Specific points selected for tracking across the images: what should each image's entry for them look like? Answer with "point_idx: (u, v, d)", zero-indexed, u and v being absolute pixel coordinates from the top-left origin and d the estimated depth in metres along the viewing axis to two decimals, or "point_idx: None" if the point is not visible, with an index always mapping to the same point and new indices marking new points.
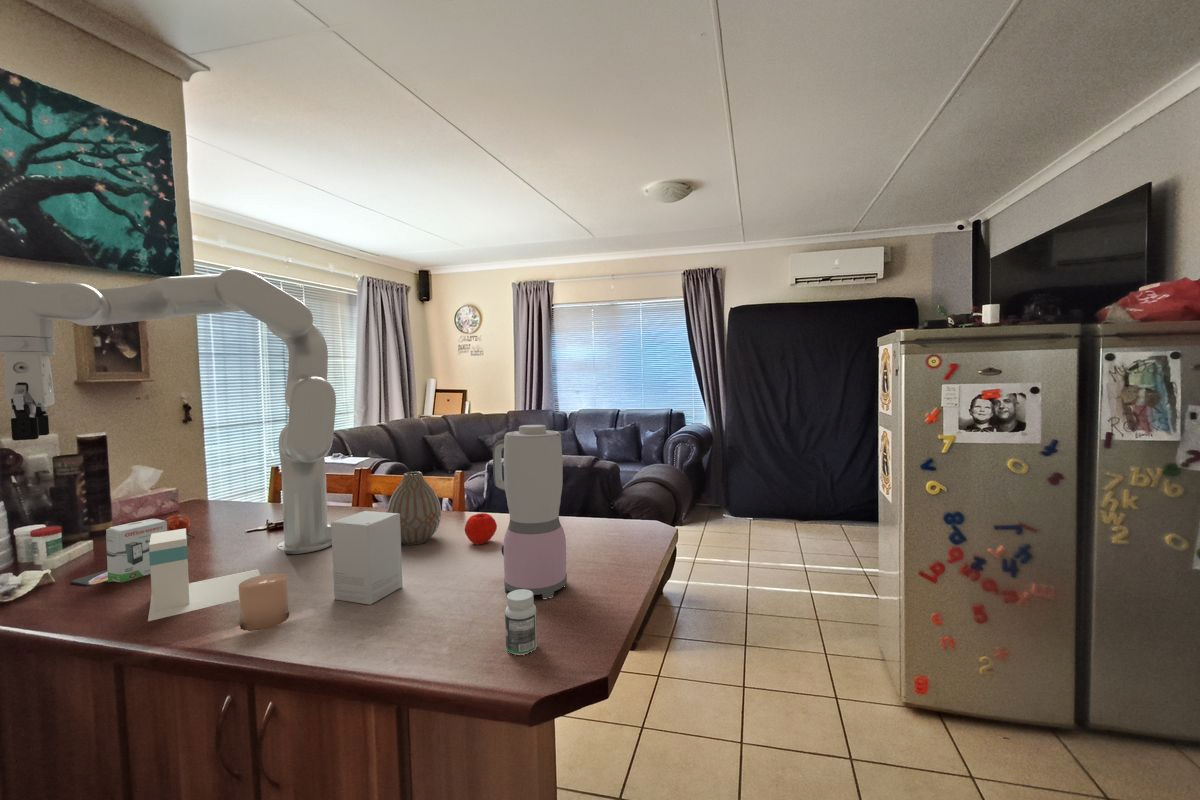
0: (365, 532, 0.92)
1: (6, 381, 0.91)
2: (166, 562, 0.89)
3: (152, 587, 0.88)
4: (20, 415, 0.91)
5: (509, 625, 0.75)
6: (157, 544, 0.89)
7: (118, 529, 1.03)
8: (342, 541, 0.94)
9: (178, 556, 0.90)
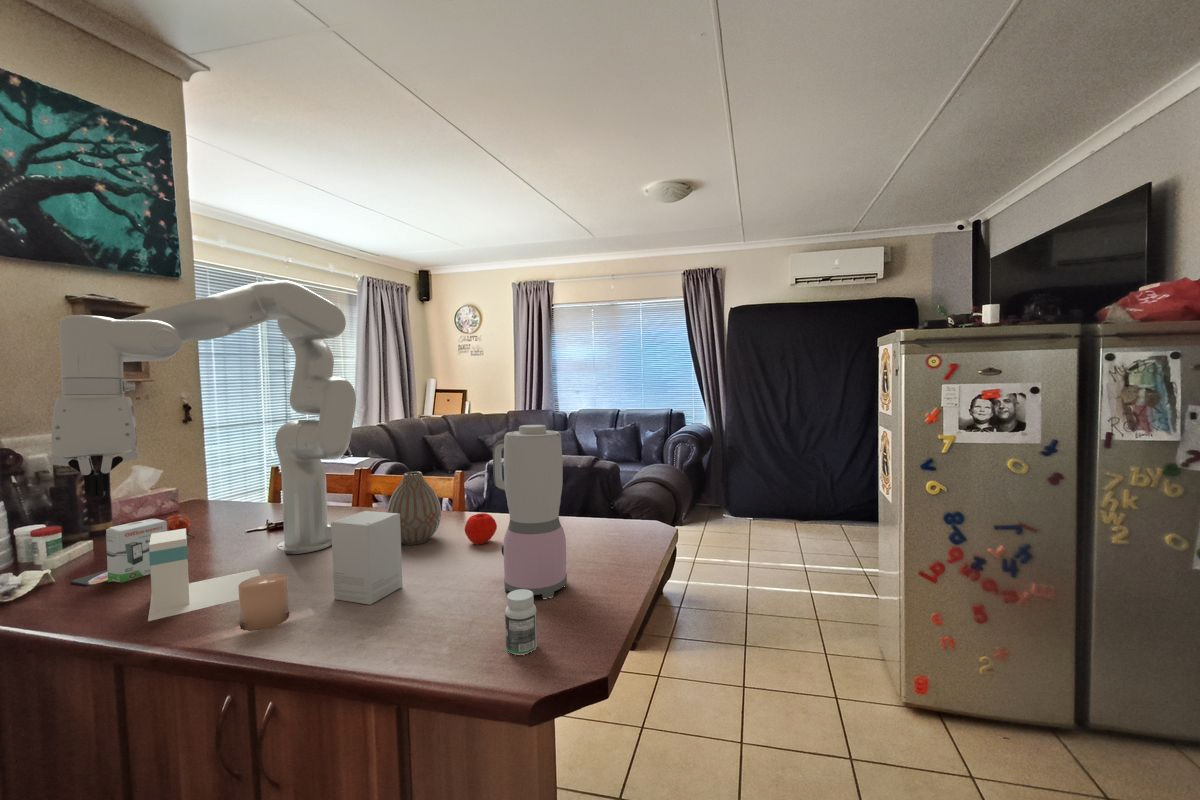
0: (365, 532, 0.92)
1: (131, 425, 0.88)
2: (166, 562, 0.89)
3: (152, 587, 0.88)
4: (113, 468, 0.88)
5: (509, 625, 0.75)
6: (157, 544, 0.89)
7: (118, 529, 1.03)
8: (343, 541, 0.94)
9: (178, 556, 0.90)
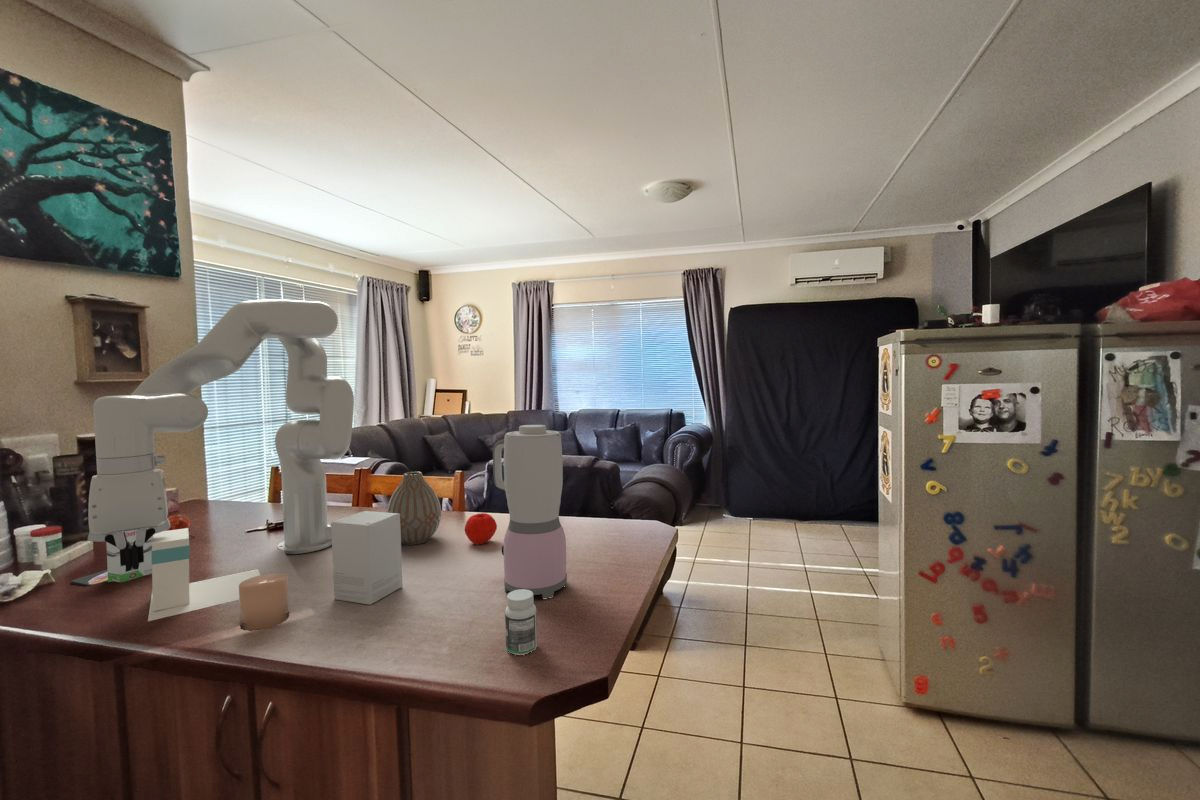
0: (365, 532, 0.92)
1: (163, 499, 0.91)
2: (168, 561, 0.90)
3: (153, 586, 0.88)
4: (146, 540, 0.91)
5: (509, 625, 0.75)
6: (160, 543, 0.89)
7: None
8: (342, 541, 0.94)
9: (180, 555, 0.91)
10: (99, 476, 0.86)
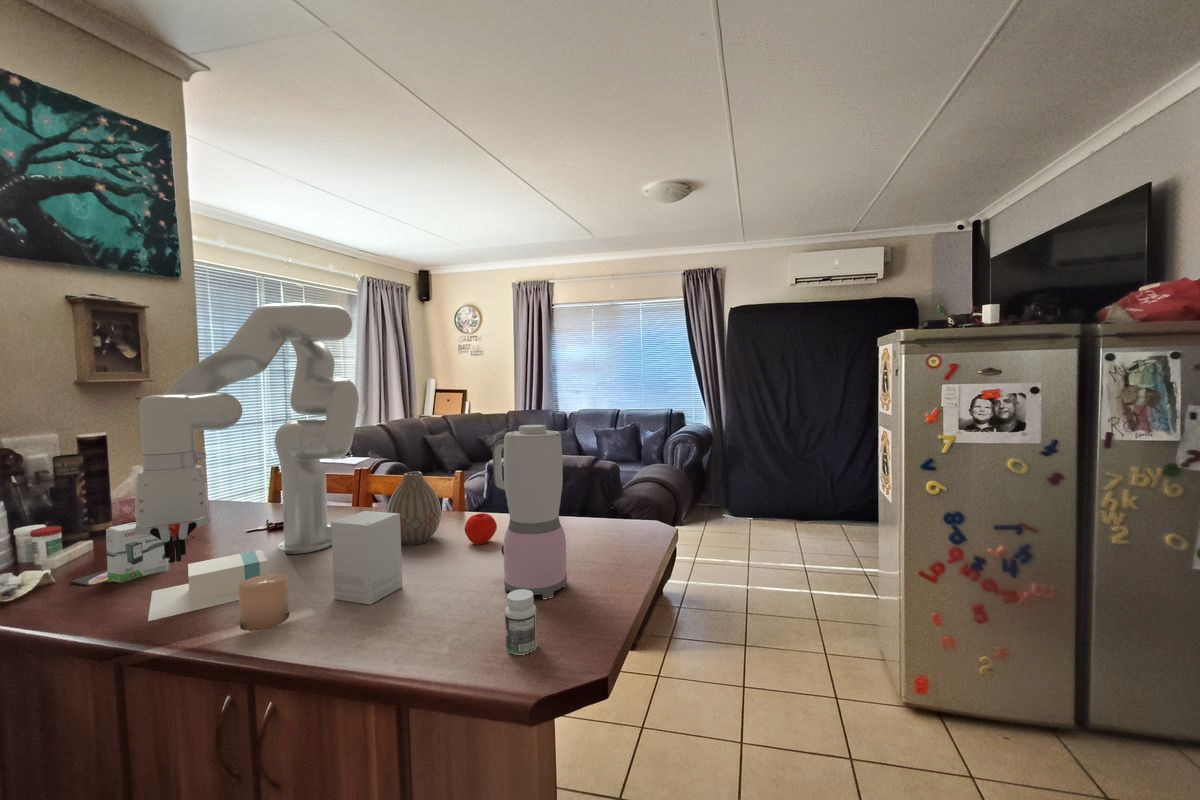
0: (365, 532, 0.92)
1: (204, 494, 0.94)
2: (245, 576, 0.97)
3: (219, 570, 0.94)
4: None
5: (509, 625, 0.75)
6: (266, 566, 0.99)
7: (118, 529, 1.03)
8: (342, 541, 0.94)
9: None
10: (145, 472, 0.89)
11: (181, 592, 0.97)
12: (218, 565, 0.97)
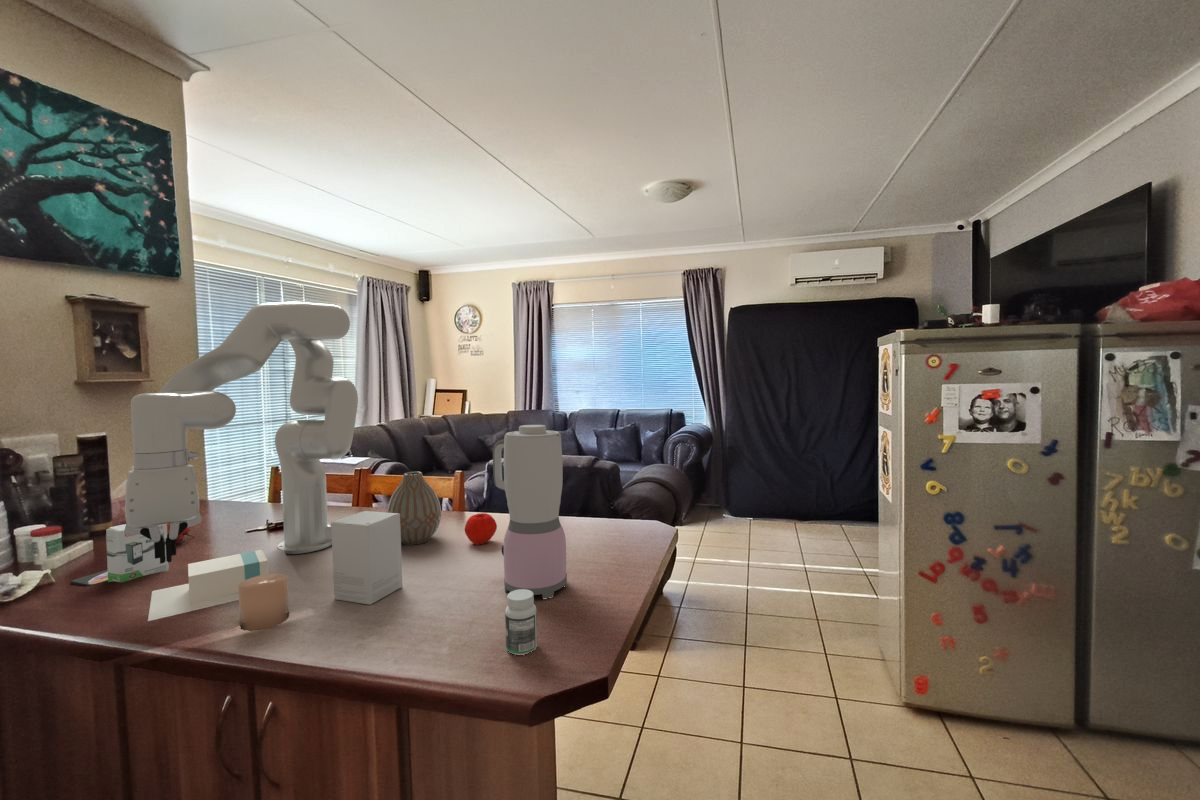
0: (365, 532, 0.92)
1: (196, 493, 0.94)
2: (245, 576, 0.97)
3: (219, 570, 0.94)
4: None
5: (509, 625, 0.75)
6: (266, 566, 0.99)
7: (118, 529, 1.03)
8: (342, 541, 0.94)
9: None
10: (136, 471, 0.88)
11: (181, 592, 0.97)
12: (218, 565, 0.97)
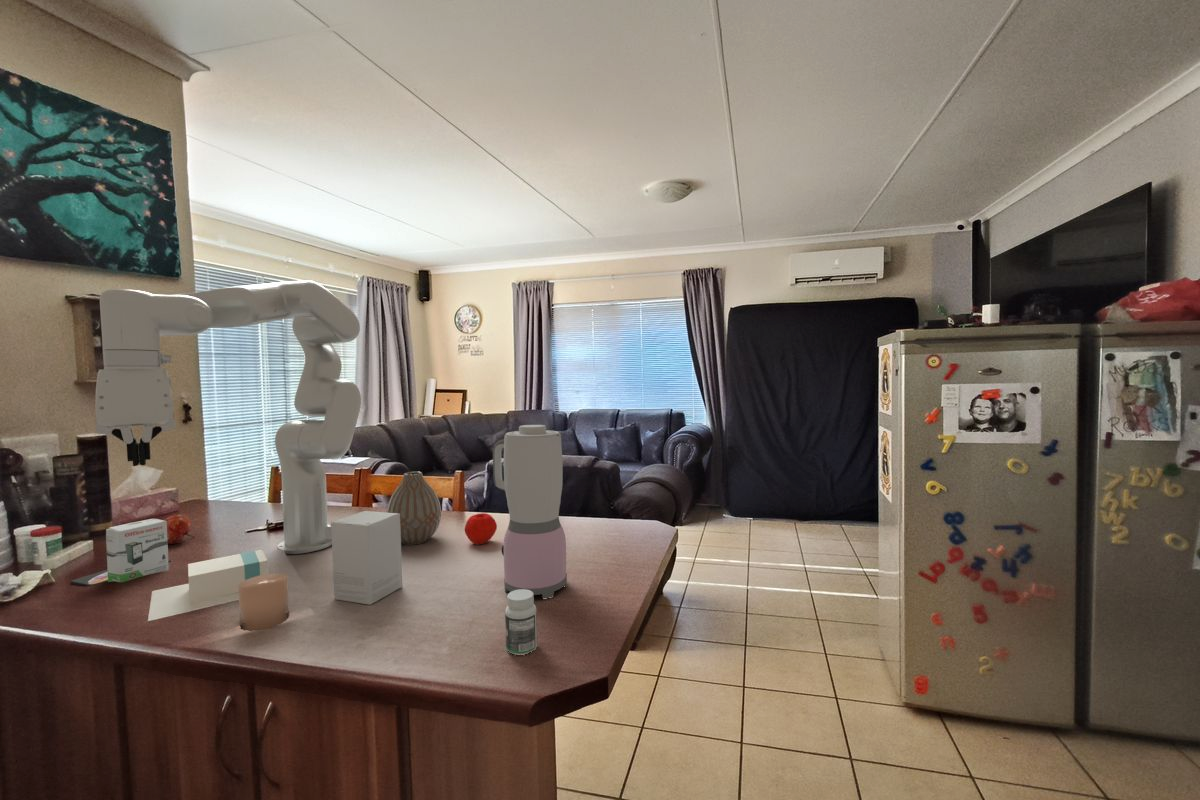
0: (365, 532, 0.92)
1: (169, 396, 0.91)
2: (245, 576, 0.97)
3: (219, 570, 0.94)
4: (153, 437, 0.91)
5: (509, 625, 0.75)
6: (266, 566, 0.99)
7: (118, 529, 1.03)
8: (342, 541, 0.94)
9: None
10: (106, 368, 0.86)
11: (181, 592, 0.97)
12: (218, 565, 0.97)
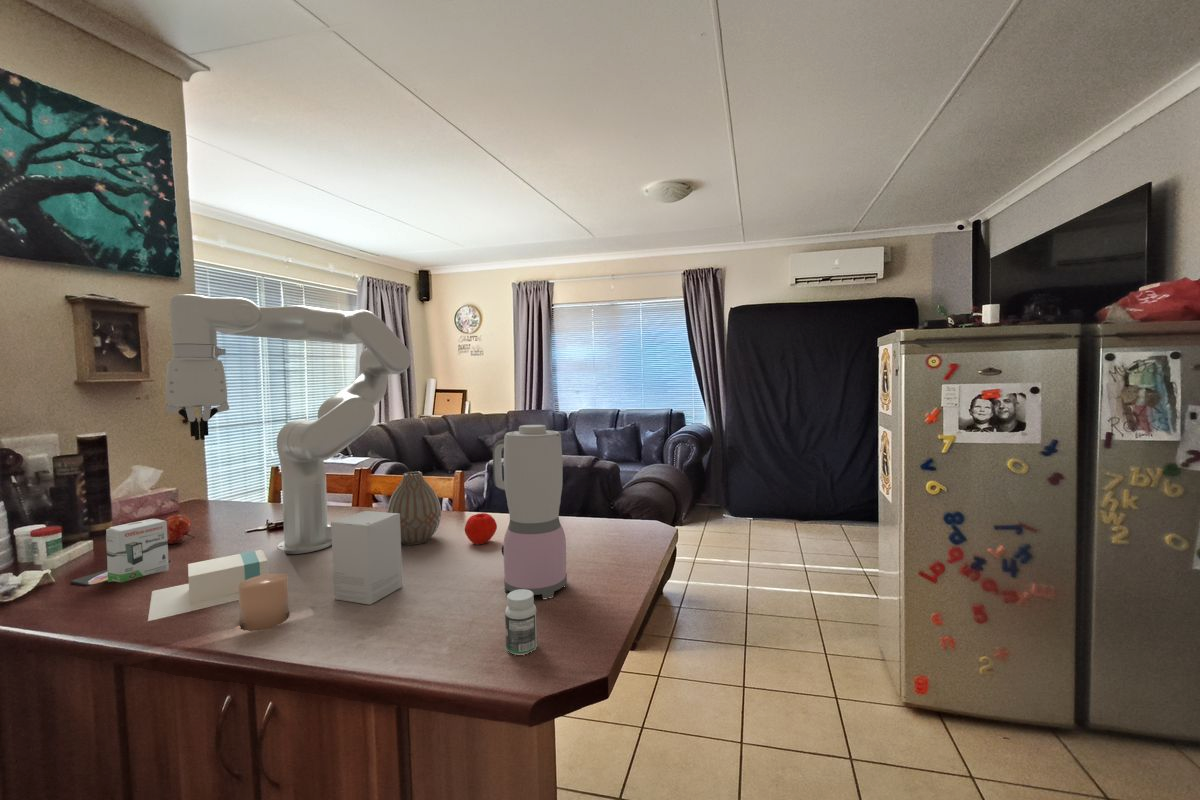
0: (365, 532, 0.92)
1: (224, 383, 1.10)
2: (245, 576, 0.97)
3: (219, 570, 0.94)
4: (210, 417, 1.10)
5: (509, 625, 0.75)
6: (266, 566, 0.99)
7: (118, 529, 1.03)
8: (342, 541, 0.94)
9: None
10: (175, 359, 1.04)
11: (181, 592, 0.97)
12: (218, 565, 0.97)
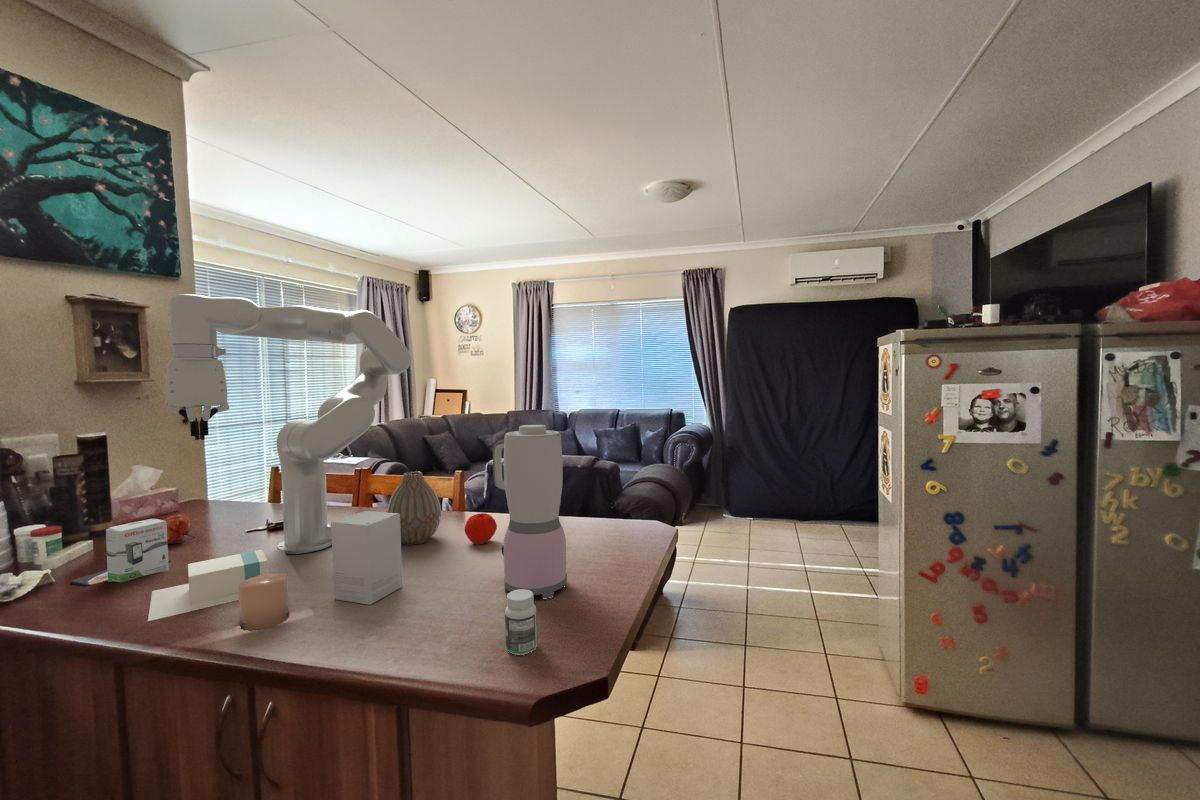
0: (365, 532, 0.92)
1: (224, 383, 1.10)
2: (245, 576, 0.97)
3: (219, 570, 0.94)
4: (210, 417, 1.10)
5: (509, 625, 0.75)
6: (266, 566, 0.99)
7: (118, 529, 1.03)
8: (342, 541, 0.94)
9: None
10: (175, 359, 1.04)
11: (181, 592, 0.97)
12: (218, 565, 0.97)
